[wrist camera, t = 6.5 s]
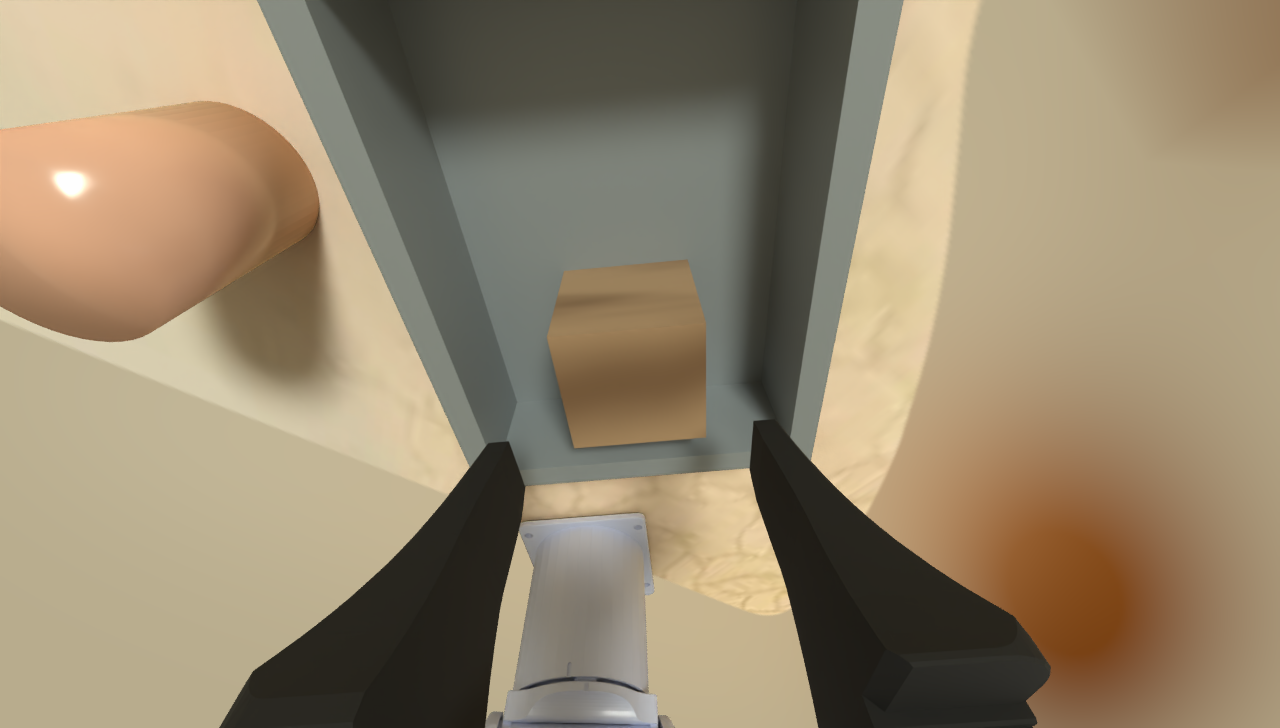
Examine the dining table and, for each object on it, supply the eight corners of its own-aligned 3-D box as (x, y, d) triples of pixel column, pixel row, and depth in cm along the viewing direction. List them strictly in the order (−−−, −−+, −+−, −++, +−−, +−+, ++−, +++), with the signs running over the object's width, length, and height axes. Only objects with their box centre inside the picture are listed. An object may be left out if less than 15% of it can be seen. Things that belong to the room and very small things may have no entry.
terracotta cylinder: (343, 240, 18) (211, 333, 12) (220, 251, 18) (33, 349, 12) (271, 93, 15) (54, 126, 9) (126, 109, 15) (-178, 150, 9)
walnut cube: (690, 360, 21) (706, 437, 17) (583, 369, 21) (574, 448, 17) (687, 259, 18) (706, 322, 14) (564, 270, 18) (546, 337, 14)
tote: (777, 388, 23) (810, 463, 19) (505, 411, 23) (480, 489, 19) (838, -121, 12) (943, -200, 8) (339, -64, 13) (205, -113, 9)
